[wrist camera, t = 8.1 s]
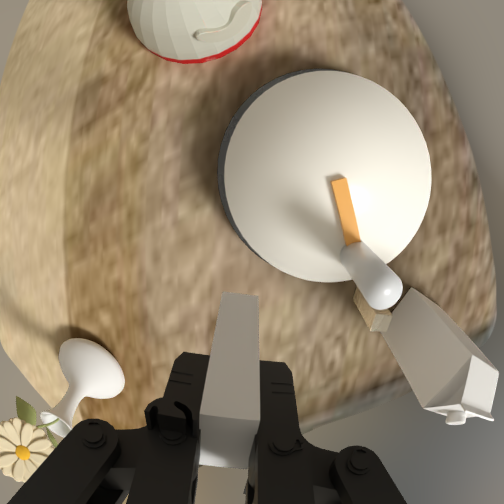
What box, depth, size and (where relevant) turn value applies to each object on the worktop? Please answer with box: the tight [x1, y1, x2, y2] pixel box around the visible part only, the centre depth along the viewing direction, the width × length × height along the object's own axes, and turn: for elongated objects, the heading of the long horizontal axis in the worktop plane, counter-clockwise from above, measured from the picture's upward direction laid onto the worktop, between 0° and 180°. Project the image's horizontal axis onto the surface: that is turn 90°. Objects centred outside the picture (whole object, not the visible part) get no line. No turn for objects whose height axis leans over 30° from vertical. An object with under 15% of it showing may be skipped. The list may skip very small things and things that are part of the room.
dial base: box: [217, 69, 393, 332], centre depth 28 cm, size 25×22×7 cm
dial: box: [224, 71, 431, 310], centre depth 24 cm, size 20×20×11 cm
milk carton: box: [380, 287, 499, 425], centre depth 28 cm, size 7×7×19 cm
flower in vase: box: [0, 338, 125, 482], centre depth 29 cm, size 13×11×25 cm
